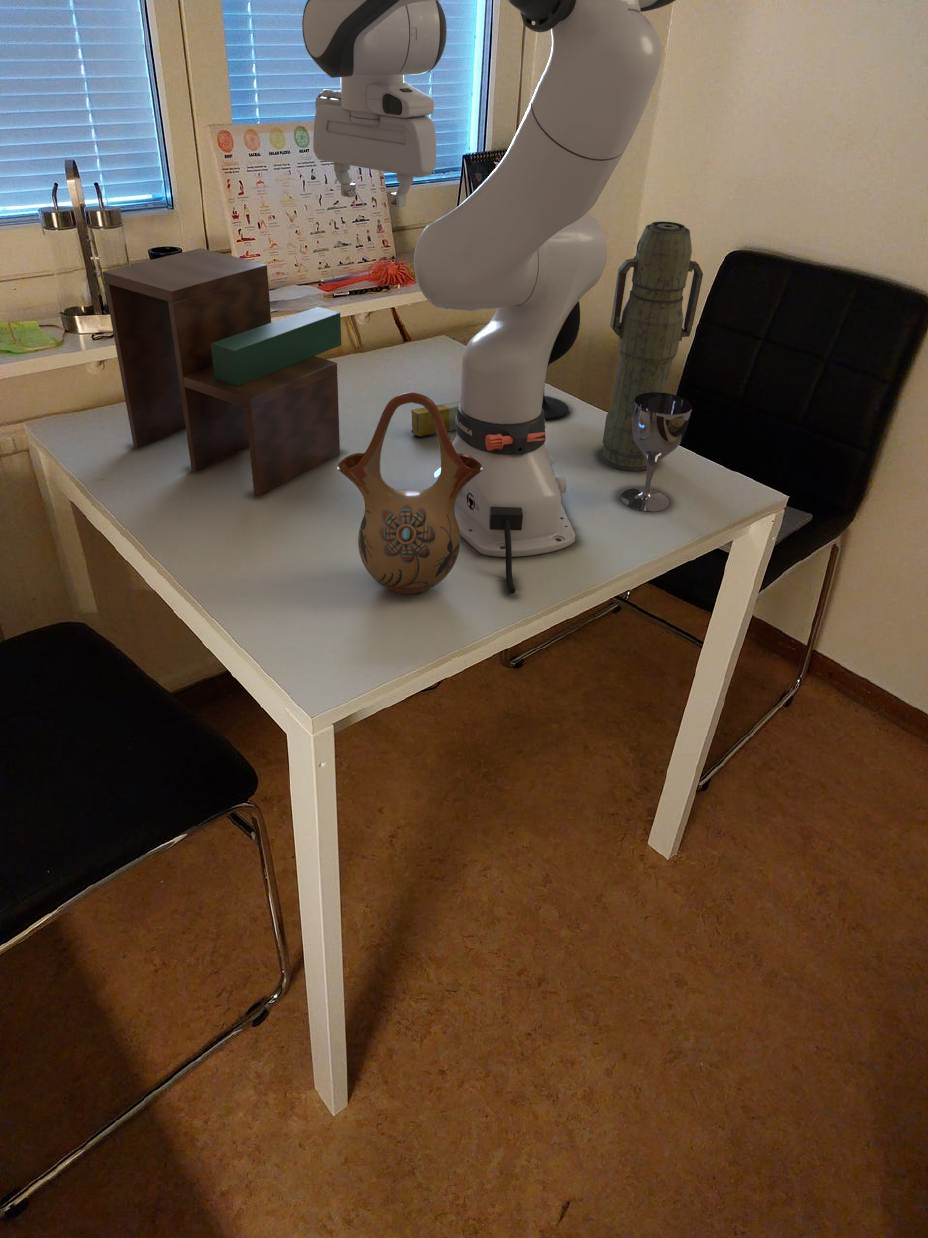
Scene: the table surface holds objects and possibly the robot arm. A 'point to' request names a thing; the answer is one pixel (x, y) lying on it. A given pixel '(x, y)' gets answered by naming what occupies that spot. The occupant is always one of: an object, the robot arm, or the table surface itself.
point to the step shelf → (184, 375)
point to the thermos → (648, 330)
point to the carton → (275, 346)
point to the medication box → (424, 422)
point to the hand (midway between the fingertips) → (373, 201)
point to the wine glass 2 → (656, 441)
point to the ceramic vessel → (409, 510)
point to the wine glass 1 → (561, 346)
